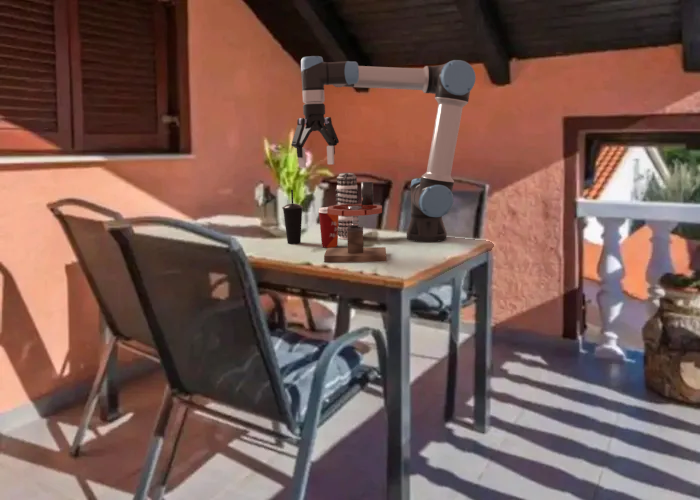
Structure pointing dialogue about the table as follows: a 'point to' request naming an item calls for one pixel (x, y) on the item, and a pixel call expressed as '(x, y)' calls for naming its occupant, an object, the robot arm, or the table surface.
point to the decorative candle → (346, 200)
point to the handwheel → (358, 205)
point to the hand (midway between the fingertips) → (316, 165)
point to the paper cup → (328, 228)
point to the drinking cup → (293, 221)
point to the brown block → (355, 250)
